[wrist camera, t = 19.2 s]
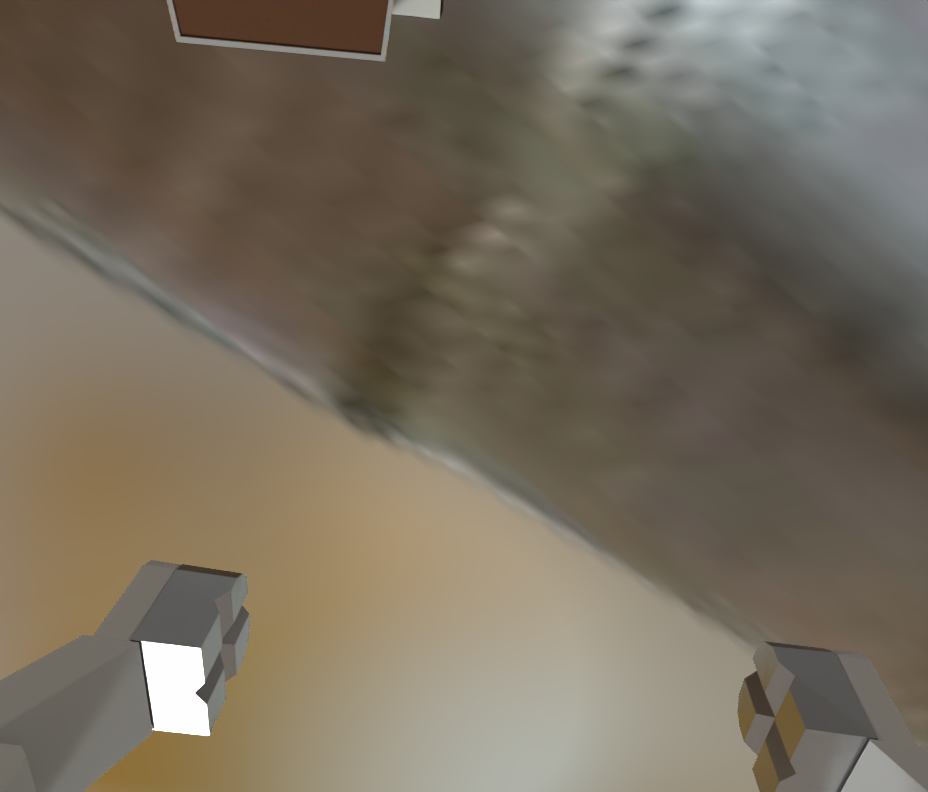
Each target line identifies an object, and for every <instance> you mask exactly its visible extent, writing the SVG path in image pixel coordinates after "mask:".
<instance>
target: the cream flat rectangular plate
mask: <svg viewBox="0 0 928 792" xmlns="http://www.w3.org/2000/svg"><path fill="white" fill-rule="evenodd" d="M440 10H441V0H394V2H393V9H392V14H397V15H407V16H417V17H426V18H436V19H440Z"/></svg>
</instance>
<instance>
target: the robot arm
mask: <svg viewBox="0 0 928 792" xmlns="http://www.w3.org/2000/svg"><path fill="white" fill-rule="evenodd" d="M247 594H248V586H247V577H246V576H245V575H244V574H241V573H235V572H229V571H222V570H216V569H209V568H202V567H197V566H190V565H184V564H182V565H179V564H173V563H166V562H160V561H153V560H151V561H149V562H148V563H146V564H145V565H143V566H142V567H141V569H140V570H139V572H138V573H137V575H136V576H135V577H134V579H133V580H132V581H131V583H130V584H129V586H128V587H127V589H126V590H125V592H124V593H123V594H122V596H121V597H120V598H119V600H118V601H117V603H116V604H115V605H114V607H113V608H112V610H111V611H110V612H109V614H108V615H107V617H106V618H105V619H104V621H103V622H102V624H101V625H100V626H99V628H98V629H97V631H96V632H95V634H94V635H93V636H87V635H82V636H80V637H79V638H77V639H75V640H73V641H71V642H69V643H68V644H66V645H64V646H62V647H60V648H59V649H57V650H55V651H53V652H51V653H49V654H48V655H46V656H44V657H42V658H40V659H38V660H37V661H35V662H33V663H31V664H29V665H27V666H26V667H24V668H22V669H20V670H18V671H16V672H15V673H13V674H11V675H9V676H8V677H6V678H4V679H2V680H0V792H83V791H84V790H85V789H86V788H88V787H89V786H90V785H91V784H93V783H94V782H95V781H96V780H97V779H99V778H100V777H101V776H102V775H103V774H105V773H106V772H107V771H108V770H109V769H110V768H111V767H113V766H114V765H115V764H116V763H118V762H119V761H120V760H121V759H122V758H124V757H125V756H126V755H127V754H128V753H130V752H131V751H132V750H133V749H134V748H136V747H137V746H138V745H139V744H140V743H142V742H143V741H144V740H145V739H146V738H147V737H149V736H150V735H151V734H152V730H160V731H170V732H179V733H190V734H198V735H208V736H209V735H210V733H211V731H212V728H213V726H214V724H215V721H216V720H217V717H218V715H219V713H220V711H221V708H222V706H223V704H224V702H225V699H226V690H225V682H226V681H227V680H229V679H230V678H232V677H233V676H235V675H236V674H237V672H238V670H239V668H240V665H241V662H242V660H243V658H244V654H245V650H246V646H247V642H248V637H249V627H250V621H249V613H248V612H247V611H246V609H245V608H244V607H243V606H242V604H243V602H244V600H245V598H246V596H247ZM753 661H754V664H755V666H756V669H757V671H756V672H754V673H753V674H751V675H750V676H748V677H746V678H745V679H744V681H743V684H742V687H741V690H740V693H739V702H738V718H739V726H740V730H741V733H742V736H743V740H744V742H745V743H746V744H747V745H748V746H749V747H750V748H751V749H752V750H753V751H754V752H755V753H756V754H757V755H758V757H757V759H756V761H755V764H754V766H753V772H754V775H755V778H756V782H757V785H758V788H759V791H760V792H928V747H924V746H918V745H917V744H916V742H915V740H914V738H913V736H912V735H911V733H910V731H909V729H908V727H907V726H906V724H905V722H904V720H903V718H902V717H901V715H900V713H899V711H898V709H897V708H896V706H895V704H894V702H893V700H892V699H891V697H890V695H889V693H888V691H887V690H886V688H885V686H884V684H883V682H882V681H881V679H880V677H879V675H878V673H877V672H876V670H875V668H874V666H873V664H872V663H871V661H870V659H869V658H868V657H866V656H865V655H864V654H863V653H858V652H850V651H841V650H833V649H828V650H827V649H823V648H815V647H806V646H798V645H790V644H782V643H773V642H765V641H764V642H763V643H762V644H760V645H759V646H758V648H757V650H756V652H755V654H754V657H753Z"/></svg>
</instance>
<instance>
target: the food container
mask: <svg viewBox="0 0 928 792" xmlns="http://www.w3.org/2000/svg"><path fill="white" fill-rule="evenodd" d="M393 2H394V0H167V4H168V8H169V13H170V17H171V21H172V26H173V30H174V34H175V39H176V42H183V43H194V44H205V45H215V46H226V47H237V48H247V49H258V50H269V51H279V52H290V53H301V54H311V55H322V56H333V57H343V58H354V59H365V60H375V61H385V60H386V53H387V46H388V38H389V31H390V24H391V16H392V9H393Z"/></svg>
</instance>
